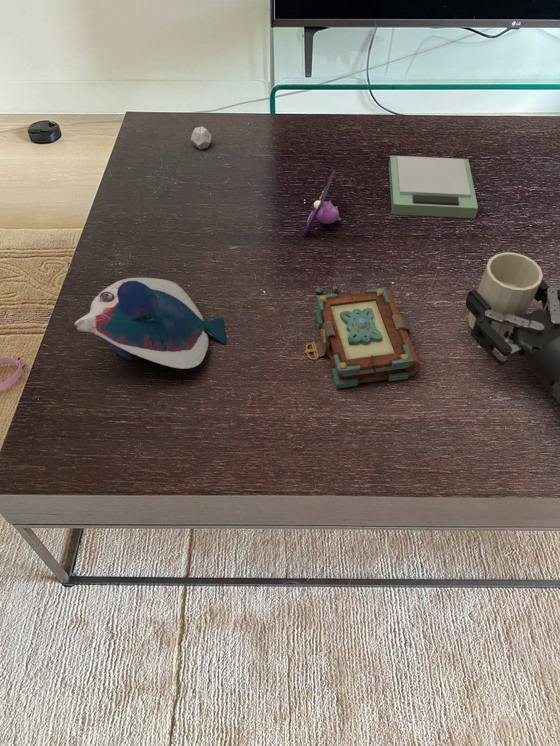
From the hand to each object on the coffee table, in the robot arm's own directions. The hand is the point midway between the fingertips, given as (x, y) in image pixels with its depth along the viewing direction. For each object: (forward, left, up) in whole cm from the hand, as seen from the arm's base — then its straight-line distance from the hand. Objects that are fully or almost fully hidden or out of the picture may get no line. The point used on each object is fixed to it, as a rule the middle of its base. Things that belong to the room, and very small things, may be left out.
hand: (497, 285), depth 80 cm
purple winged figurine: (+22, -19, -6) cm, 30 cm away
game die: (+44, -38, -6) cm, 58 cm away
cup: (-1, +1, -6) cm, 6 cm away
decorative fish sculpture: (+43, +7, -6) cm, 44 cm away
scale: (+5, -28, -6) cm, 29 cm away
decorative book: (+18, +4, -6) cm, 20 cm away
